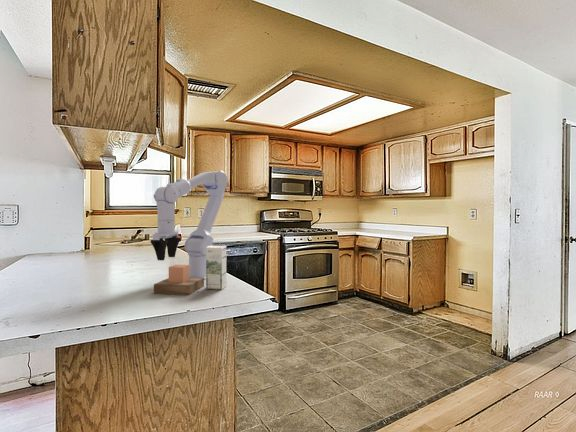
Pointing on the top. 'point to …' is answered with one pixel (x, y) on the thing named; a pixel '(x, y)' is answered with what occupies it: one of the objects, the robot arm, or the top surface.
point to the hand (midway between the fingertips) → (166, 258)
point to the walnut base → (179, 286)
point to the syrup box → (216, 267)
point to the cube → (179, 273)
